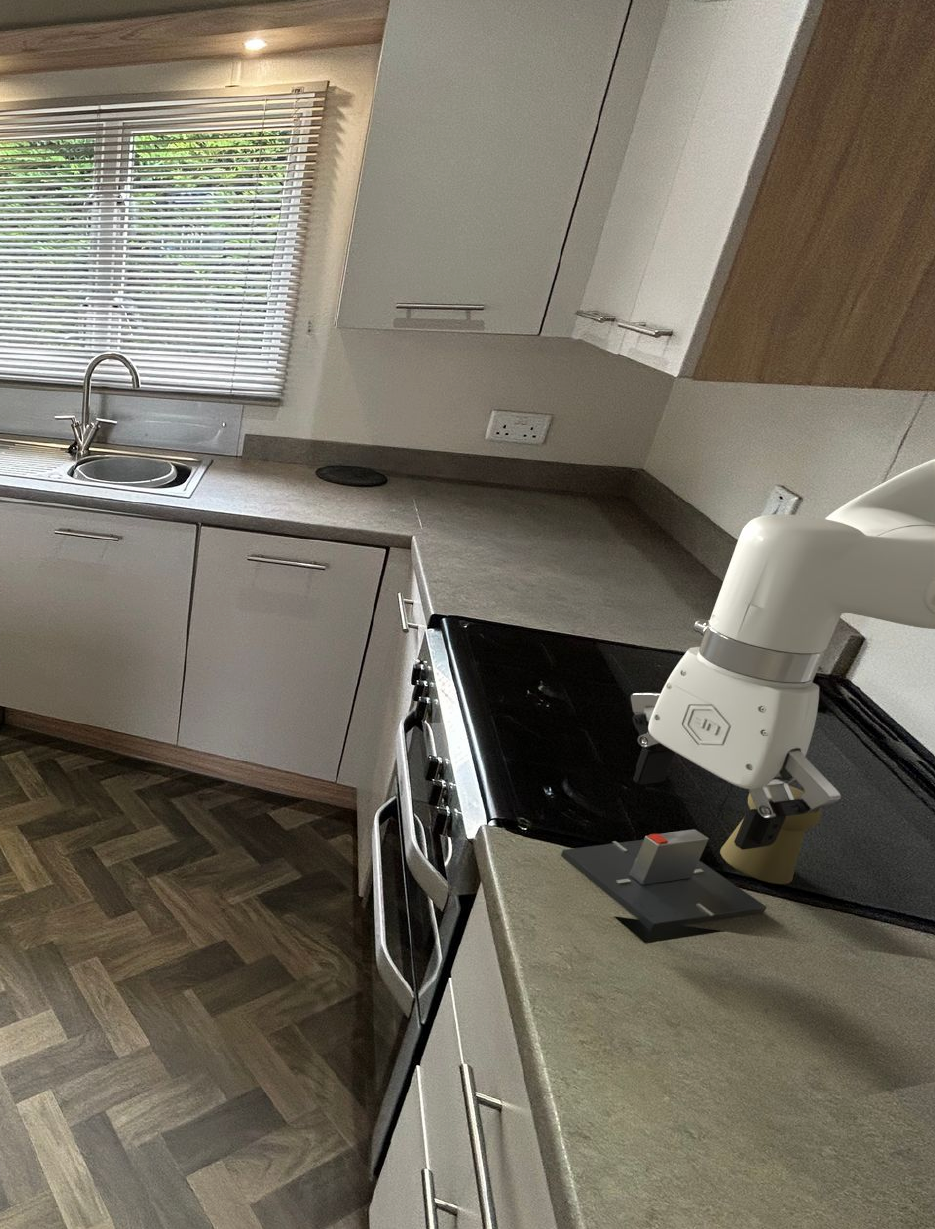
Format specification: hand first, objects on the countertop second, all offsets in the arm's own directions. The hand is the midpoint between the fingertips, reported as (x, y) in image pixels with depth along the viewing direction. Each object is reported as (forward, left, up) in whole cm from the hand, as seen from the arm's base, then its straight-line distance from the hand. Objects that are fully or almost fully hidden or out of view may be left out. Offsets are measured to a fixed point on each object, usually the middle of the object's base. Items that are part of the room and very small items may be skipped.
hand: (696, 811), depth 73 cm
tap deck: (+1, 0, -11) cm, 11 cm away
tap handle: (+1, 0, -8) cm, 8 cm away
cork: (-11, -5, -11) cm, 17 cm away
